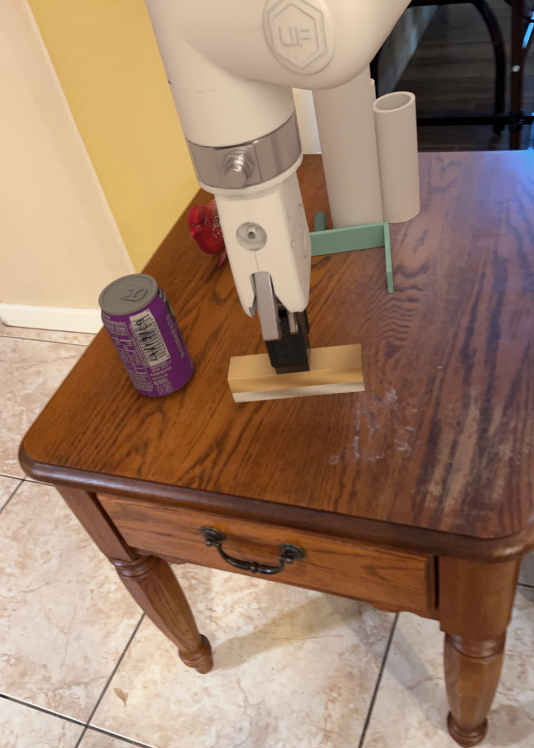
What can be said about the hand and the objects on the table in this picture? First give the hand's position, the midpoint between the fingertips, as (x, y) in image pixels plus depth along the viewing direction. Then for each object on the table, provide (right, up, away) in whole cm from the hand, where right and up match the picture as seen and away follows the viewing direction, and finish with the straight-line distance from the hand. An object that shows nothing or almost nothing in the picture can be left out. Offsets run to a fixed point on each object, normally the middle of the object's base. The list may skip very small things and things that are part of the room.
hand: (291, 348), depth 61 cm
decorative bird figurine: (-7, +19, +32) cm, 37 cm away
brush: (+1, -3, +4) cm, 5 cm away
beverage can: (-14, 0, +18) cm, 23 cm away
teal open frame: (+5, +15, +25) cm, 30 cm away
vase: (+12, +22, +29) cm, 38 cm away
